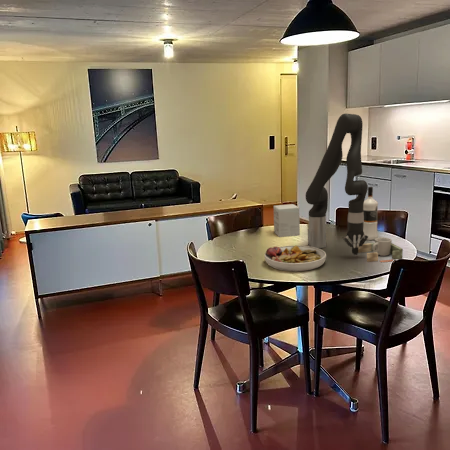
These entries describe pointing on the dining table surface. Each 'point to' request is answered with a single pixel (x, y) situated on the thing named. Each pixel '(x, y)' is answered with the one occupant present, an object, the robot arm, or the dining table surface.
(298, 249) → the bowl
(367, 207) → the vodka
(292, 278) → the dining table surface
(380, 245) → the cup
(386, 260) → the trap mat
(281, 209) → the supplement box
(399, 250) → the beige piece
